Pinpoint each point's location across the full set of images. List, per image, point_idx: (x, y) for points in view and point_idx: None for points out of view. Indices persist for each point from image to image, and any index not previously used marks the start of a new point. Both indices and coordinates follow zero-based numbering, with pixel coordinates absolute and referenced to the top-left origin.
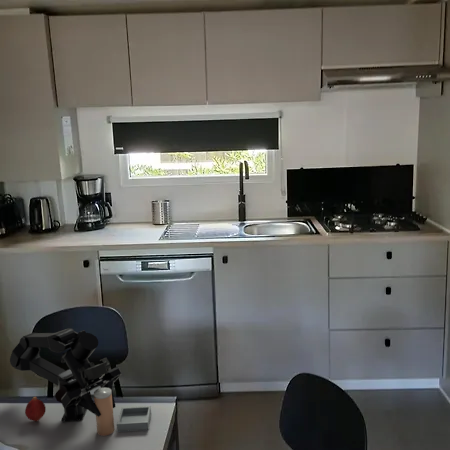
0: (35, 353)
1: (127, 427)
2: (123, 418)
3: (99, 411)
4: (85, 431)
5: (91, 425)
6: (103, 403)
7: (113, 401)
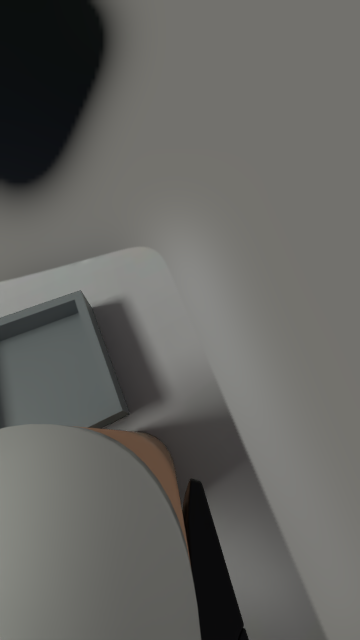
0: None
1: (110, 368)
2: None
3: (188, 503)
4: None
5: None
6: (164, 472)
7: None
